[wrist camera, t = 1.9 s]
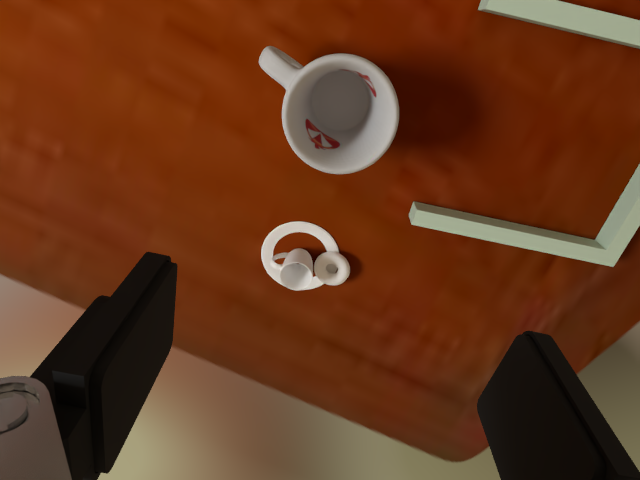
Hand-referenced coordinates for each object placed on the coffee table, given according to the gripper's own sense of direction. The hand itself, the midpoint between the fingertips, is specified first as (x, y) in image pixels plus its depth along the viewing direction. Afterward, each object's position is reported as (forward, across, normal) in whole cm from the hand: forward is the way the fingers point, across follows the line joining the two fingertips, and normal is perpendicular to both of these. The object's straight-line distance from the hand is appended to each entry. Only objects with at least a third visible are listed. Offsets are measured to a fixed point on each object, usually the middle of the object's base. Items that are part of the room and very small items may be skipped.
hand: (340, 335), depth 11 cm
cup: (+28, +2, -2) cm, 28 cm away
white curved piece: (+28, -1, +18) cm, 33 cm away
